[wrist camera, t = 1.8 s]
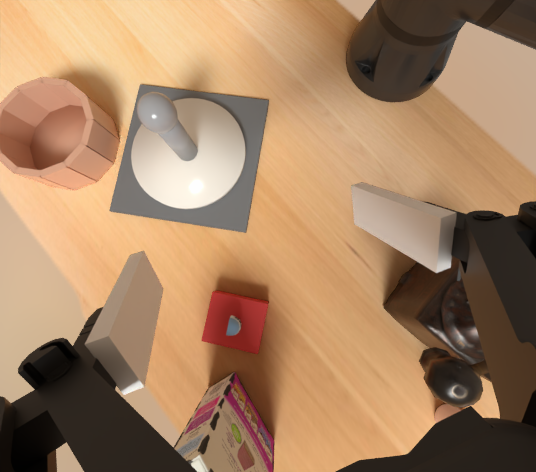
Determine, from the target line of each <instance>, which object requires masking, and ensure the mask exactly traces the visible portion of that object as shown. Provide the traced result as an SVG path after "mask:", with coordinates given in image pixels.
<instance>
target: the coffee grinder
mask: <svg viewBox="0 0 536 472" xmlns="http://www.w3.org/2000/svg"><path fill="white" fill-rule="evenodd" d="M459 261H460V259H458V258H455V257H453V256H452V260H451V268H448V269H446V270H443V271H441V272H438V273H435V272H434V271H432V270H430V269H429V268H427V267H425V266H424V265H422V264H420V263H419V262H417V263H416V264H415V265H414V266H413V267H412V268H411V269H410V271H409V272H406V273H405V274H404V275H403V276H402V278H401V279H400V280H399V283H398V286H397V287H396V289H395V290H394V291H393V293H392V294H391V295H390V297H389V299H388V301H387V302H386V304H385V306H384V309H385V310H386V311H387V312H388V313H389V314H390V315H391V316H392V317H393V318H394V319H395V320H396V321H397V322H399V323H400V324H401V325H402V326H403V327H404V328H406V329H407V330H408V331H409V332H410V333H411V334H413V335H414V336H415V337H416V338H417V339H419V340H420V341H421V342H422V343H424V344H425V345H426V346H428V347H429V348H430V349H426V350H424V351H423V353H422V355H421V358H420V360H419V362H420V364H421V366H422V368H423V370H424V371H425V372H426V373H425V375H424V380H425V382H426V384H427V386H428V387H429V389H430V390H431V392H432V394H433V395H434V397H435V398H437V399H439V400H441V401H443V402H445V403H447V404H448V405H451V406H453V407H460V408H462V407H466V406H470V405H474V404H475V403H476V402H477V401H478V400H480V397H481V395H482V392H483V387H482V381H481V378H480V376H481V377H483V378H485V379H487V380H488V381H490V382H492V381H491V378H490V374H489V371H488V367H487V364H486V360H485V357H484V353H483V350H482V346H481V343H480V339H479V336H478V332H477V329H476V325H475V322H474V318H473V315H472V312H471V308H470V305H469V301H468V298H467V294H466V291H465V287H464V284H463V280H462V278H461V279H460V281H457V277H458V269H459Z"/></svg>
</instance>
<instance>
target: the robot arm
mask: <svg viewBox="0 0 536 472" xmlns="http://www.w3.org/2000/svg"><path fill="white" fill-rule="evenodd" d="M466 21H467V22H470V23H472V24H475V25H477V26H480V27H482V28H485V29H487V30H490V31H492V32H494V33H497V34H499V35H502V36H504V37H506V38H509V39H512V40H514V41H516V42H519V43H521V44H524V45H526V46H528V47H531V48H533V49H536V0H376V1H375V2H374V4H373V5H372V6H371V8H370V9H369V11H368V12H367V13H366V15H365V16H364V18H363V19H362V20H361V22H360V23H359V24H358V26H357V27H356V29H355V31H354V33H353V35H352V37H351V40H350V44H349V47H348V50H347V55H346V64H347V69H348V72H349V75H350V77H351V79H352V80H353V82H354V83H355V85H356V86H357V87H358V88H359V89H360V90H361V91H363V92H364V93H365V94H367V95H369V96H371V97H373V98H375V99H378V100H381V101H386V102H402V101H407V100H411V99H413V98H416V97H418V96H420V95H421V94H423V93H424V92H425V91H427V90H428V89H429V88H430V87H431V85H432V84H433V83H434V82H435V81H436V79H437V78H438V77H439V76H440V74H441V73H442V71H443V69H444V68H445V66H446V63H447V61H448V58H449V55H450V53H451V50H452V47H453V45H454V42H455V40H456V37H457V34H458V32H459V30H460V29H461V27H462V26H463V25H464V24H465V22H466ZM351 189H352V201H353V213H354V224H355V225H357V226H358V227H360V228H362V229H363V230H365V231H367V232H369V233H370V234H372V235H374V236H375V237H377V238H379V239H380V240H382V241H384V242H385V243H387V244H389V245H390V246H392V247H394V248H395V249H397V250H399V251H400V252H402V253H404V254H405V255H407V256H409V257H410V258H412V259H414V260H415V261H417V262H419V263H420V264H422V265H424V266H425V267H427V268H429V269H430V270H432V271H434V272H435V273H438V272H441V271H443V270H446V269H448V268H451V260H452V256H453V257H455V258H458V259H460V261H459V269H458V277H457V281H460V279H461V278H462V280H463V284H464V287H465V291H466V294H467V298H468V301H469V305H470V308H471V312H472V315H473V318H474V322H475V325H476V329H477V332H478V336H479V339H480V343H481V346H482V350H483V353H484V357H485V360H486V364H487V367H488V371H489V374H490V378H491V381H492V385H493V388H494V392H495V395H496V399H497V402H498V406H499V411H500V419H498V418H482V417H481V416H480V415H479V414H478V413H477V412H476V411H475V410H474V409H473V408H472V407H471V406H470V407H468V408H465V409H463V410H461V411H459V412H457V413H455V414H453V415H451V416H449V417H447V418H445V419H443V420H441V421H439V422H437V423H436V424H435V425H434V426H433V427H432V428H431V429H430V430H429V431H428V432H427V434H426V435H425V436H424V437H423V438H422V439H421V440H420V441H419V443H418V444H417V445H416V446H415V447H414V448H413V449H412V450H411V451H410V452H409V453H408V454H406V455H401V456H392V457H383V458H375V459H366V460H359V461H357V462H355V463H353V464H351V465H348V466H346V467H344V468H342V469H340V470H338V471H336V472H536V202H527V203H523V204H521V205H520V208H519V213H518V215H514V216H508V217H505V216H504V215H503V214H500V213H497V212H493V211H473V212H469V213H467V214H463V213H460V212H457V211H454V210H451V209H448V208H443V207H441V206H438V205H437V206H436V205H435V204H432V203H429V202H423V201H419V200H416V199H413V198H410V197H407V196H403V195H400V194H397V193H394V192H391V191H388V190H385V189H382V188H378V187H375V186H372V185H369V184H366V183H363V182H361V183H358V184H355V185H351ZM162 293H163V287H162V285H161V283H160V281H159V279H158V277H157V275H156V273H155V271H154V270H153V268H152V266H151V264H150V262H149V260H148V258H147V256H146V254H145V252H144V251H141V252H138V253H135V254H132V255H130V256H129V258H128V260H127V262H126V264H125V266H124V268H123V270H122V272H121V274H120V276H119V278H118V280H117V282H116V284H115V286H114V288H113V290H112V291H111V293H110V295H109V297H108V299H107V301H106V303H105V305H104V307H102V308H99V309H97V310H96V311H95V312H94V313H93V314H92V315H91V316H90V317H89V318H88V320H87V322H86V323H85V325H84V328H83V329H82V331H81V333H80V334H79V335H80V336H78V338H77V340H76V341H75V343H74V345H73V346H72V345H71V344H70V343H69V341H68V340H67V339H64V338H59V339H55V340H52V341H50V342H48V343H46V344H44V345H42V346H41V347H39V348H37V349H36V350H35V351H33V352H32V353H31V354H29V355H28V356H27V357H26V359H25V360H24V361H23V362H22V363H21V365H20V366H19V368H18V373H19V374H20V375H21V376H22V377H23V378H24V379H25V380H26V381H27V382H28V383H29V384H30V385H31V386H32V387H33V388H34V389H35V390H34V391H32V392H30V393H28V394H27V395H25V396H23V397H21V398H20V399H18V400H16V401H15V402H13V403H10V402H9V401H8V400H6V399H5V398H4V397H0V472H57V464H56V449H57V448H59V447H60V446H62V445H63V444H64V443H66V442H67V443H68V445H69V447H70V448H71V450H72V452H73V454H74V455H75V457H76V458H77V460H78V462H79V463H80V465H81V467H82V469H83V470H84V472H197V471H196V470H195V469H194V468H193V467H192V466H191V465H190V464H189V463H188V462H187V461H186V460H185V459H184V458H183V457H182V456H181V455H180V454H179V453H178V452H177V451H176V450H175V449H174V448H173V447H172V446H171V445H170V444H169V443H168V442H167V441H166V440H165V439H164V438H163V437H162V436H161V435H160V434H159V433H158V432H157V431H156V430H155V429H154V428H153V427H152V426H151V425H150V424H149V423H148V422H147V421H146V420H145V419H144V418H143V417H142V416H141V415H140V414H139V413H138V412H136V410H134V408H133V407H132V406H131V405H130V404H129V403H128V402H126V400H124V399H123V398H122V397H121V396H120V395H119V394H118V393H117V392H116V391H115V387H116V386H117V387H118V388H119V389H120V391H121V392H122V393H123V394H124V395H125V394H127V393H130V392H132V391H135V390H137V389H140V388H143V387H144V386H145V381H146V375H147V370H148V365H149V360H150V355H151V350H152V345H153V340H154V334H155V329H156V324H157V319H158V314H159V309H160V304H161V298H162Z"/></svg>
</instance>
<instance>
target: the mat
mask: <svg viewBox="0 0 536 472" xmlns="http://www.w3.org/2000/svg"><path fill="white" fill-rule="evenodd" d="M150 92H158V93H161V94H164V95H165V96H167V97H168V98H169V99H170V100H171V101H175V100H179V99H185V98H198V99H204V100H208V101H211V102H213V103H216V104H218V105H220V106H221V107H223V108H224V109H225V110H227V111H228V112H229V113H230V114H231V115H232V116H233V117H234V119H235V120H236V122H237V123H238V125H239V127H240V129H241V131H242V134H243V137H244V141H245V146H246V160H245V165H244V169H243V172H242V174H241V177H240V178H239V180H238V182H237V183H236V185H235V186H234V187H233V189H232V190H231V191H230V192H229V193H228V194H227V195H226V196H224V197H223V198H222V199H220V200H219V201H217V202H215V203H213V204H211V205H209V206H206V207H203V208H198V209H189V210H185V209H177V208H172V207H169V206H167V205H164V204H162V203H161V202H159V201H157V200H155V199H154V198H152V197H151V196H150V195H148V194H147V193H146V192H145V191H144V189H143V188H142V187H141V186H140V184H139V182H138V181H137V179H136V177H135V174H134V171H133V167H132V160H131V151H132V145H133V141H134V138H135V135H136V133H137V131H138V129H139V128H140V126H141V124H142V123H141V121H140V120H139V117H138V114H137V105H138V102H139V100H140V98H141V97H142V96H143V95H145V94H147V93H150ZM268 105H269V100H263V99H255V98H246V97H238V96H230V95H222V94H214V93H206V92H197V91H189V90H181V89H173V88H165V87H157V86H148V85H140V87H139V91H138V95H137V99H136V103H135V107H134V111H133V116H132V120H131V124H130V128H129V132H128V136H127V140H126V145H125V149H124V153H123V157H122V161H121V165H120V169H119V174H118V178H117V182H116V186H115V190H114V194H113V198H112V202H111V207H110V211H111V212H117V213H124V214H130V215H136V216H143V217H149V218H155V219H162V220H168V221H175V222H181V223H187V224H194V225H200V226H206V227H213V228H219V229H226V230H232V231H238V232H245V233H246V230H247V225H248V219H249V213H250V207H251V202H252V196H253V190H254V185H255V179H256V173H257V167H258V162H259V156H260V150H261V145H262V139H263V133H264V127H265V122H266V116H267V110H268Z"/></svg>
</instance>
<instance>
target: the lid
mask: <svg viewBox="0 0 536 472" xmlns="http://www.w3.org/2000/svg"><path fill="white" fill-rule="evenodd" d="M137 114H138V117H139V120H140V121H141V123H142V124H141V126H140V128H139V129H138V131H137V133H136V135H135V138H134V141H133V145H132V151H131V160H132V167H133V171H134V174H135V177H136V179H137V181H138V182H139V184H140V186H141V187H142V188H143V189H144V191H145V192H146V193H147V194H148V195H150V196H151V197H152V198H154V199H155V200H157V201H159V202H161V203H162V204H164V205H167V206H169V207H172V208H177V209H185V210H189V209H198V208H203V207H206V206H209V205H211V204H213V203H215V202H217V201H219V200H220V199H222V198H223V197H224V196H226V195H227V194H228V193H229V192H230V191H231V190H232V189H233V187H234V186H235V185H236V183H237V182H238V180H239V178H240V177H241V174H242V172H243V169H244V165H245V160H246V146H245V141H244V137H243V134H242V131H241V129H240V127H239V125H238V123H237V122H236V120H235V119H234V117H233V116H232V115H231V114H230V113H229V112H228V111H227V110H225V109H224V108H223V107H221V106H220V105H218V104H216V103H213V102H211V101H208V100H204V99H198V98H185V99H179V100H175V101H171V100H170V99H169V98H168V97H167V96H165V95H164V94H161V93H158V92H150V93H147V94H145V95H143V96H142V97H141V98H140V100H139V102H138V105H137Z"/></svg>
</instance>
